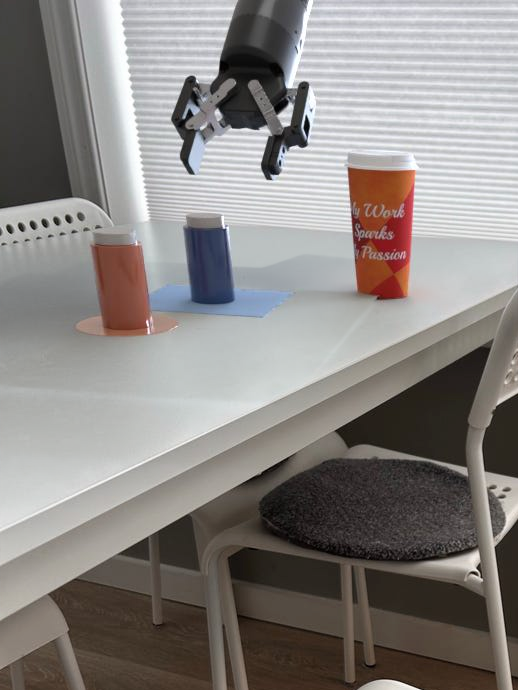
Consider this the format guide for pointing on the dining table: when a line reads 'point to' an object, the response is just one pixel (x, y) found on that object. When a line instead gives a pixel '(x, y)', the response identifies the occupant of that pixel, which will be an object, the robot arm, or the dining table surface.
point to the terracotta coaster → (96, 328)
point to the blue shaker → (209, 258)
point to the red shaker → (120, 279)
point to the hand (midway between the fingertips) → (228, 172)
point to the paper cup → (382, 219)
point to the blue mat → (243, 305)
